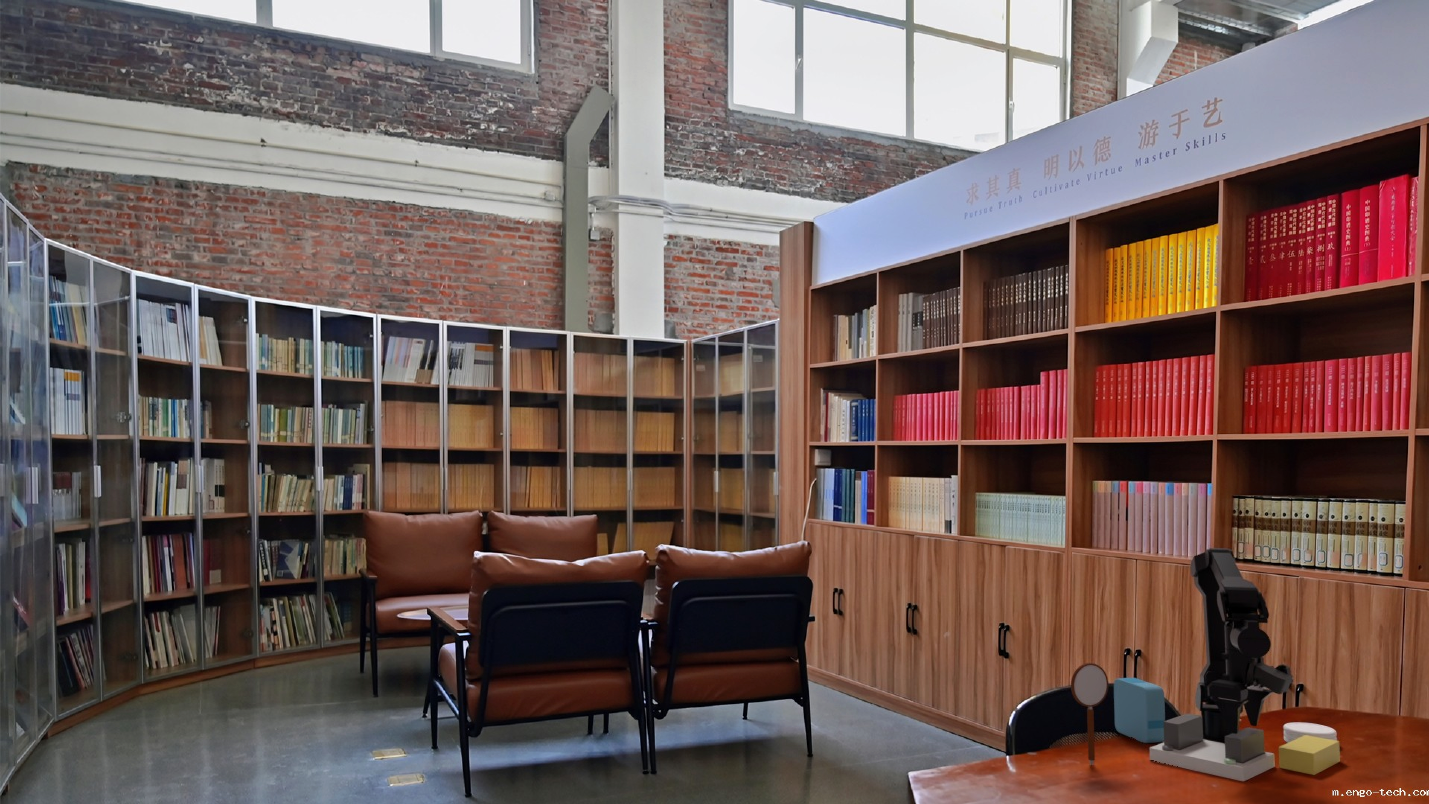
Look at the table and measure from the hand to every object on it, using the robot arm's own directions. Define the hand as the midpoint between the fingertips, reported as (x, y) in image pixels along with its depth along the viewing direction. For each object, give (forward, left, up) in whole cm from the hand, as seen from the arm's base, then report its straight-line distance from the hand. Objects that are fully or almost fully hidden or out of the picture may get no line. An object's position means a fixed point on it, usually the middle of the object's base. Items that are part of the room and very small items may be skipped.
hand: (1244, 729), depth 195 cm
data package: (-25, +7, -8) cm, 27 cm away
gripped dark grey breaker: (0, 0, -6) cm, 6 cm away
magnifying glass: (-21, -21, -8) cm, 30 cm away
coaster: (+1, +31, -8) cm, 32 cm away
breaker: (-12, 0, -5) cm, 13 cm away
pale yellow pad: (+7, +13, -8) cm, 17 cm away
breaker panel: (-6, -1, -8) cm, 10 cm away
